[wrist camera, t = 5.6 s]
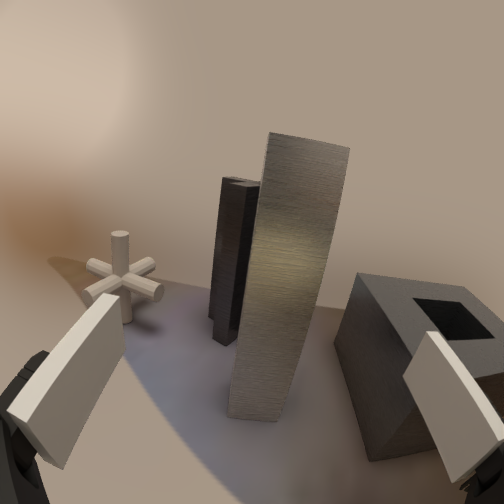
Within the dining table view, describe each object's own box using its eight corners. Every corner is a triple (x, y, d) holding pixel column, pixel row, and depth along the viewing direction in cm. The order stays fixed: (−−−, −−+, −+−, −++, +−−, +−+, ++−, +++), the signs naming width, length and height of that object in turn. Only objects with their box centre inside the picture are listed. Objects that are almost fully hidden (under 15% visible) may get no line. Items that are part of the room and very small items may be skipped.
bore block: (437, 345, 31) (463, 286, 28) (492, 428, 16) (541, 361, 13) (333, 342, 31) (356, 272, 28) (369, 461, 16) (429, 384, 13)
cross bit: (283, 325, 33) (312, 190, 28) (250, 358, 27) (279, 194, 21) (231, 302, 36) (248, 176, 31) (191, 327, 30) (203, 177, 25)
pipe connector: (121, 288, 35) (119, 215, 31) (183, 313, 32) (187, 232, 29) (66, 321, 26) (53, 235, 22) (130, 361, 23) (121, 263, 20)
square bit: (275, 387, 23) (330, 148, 16) (277, 421, 20) (350, 148, 13) (231, 382, 23) (267, 136, 16) (226, 416, 20) (269, 132, 13)
